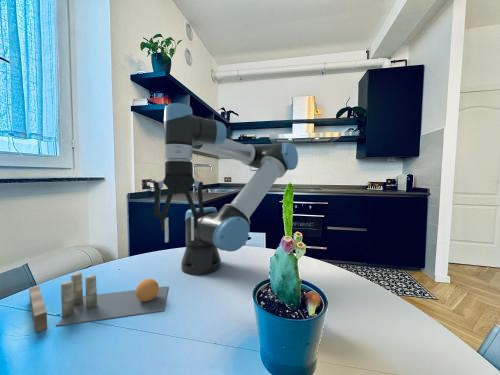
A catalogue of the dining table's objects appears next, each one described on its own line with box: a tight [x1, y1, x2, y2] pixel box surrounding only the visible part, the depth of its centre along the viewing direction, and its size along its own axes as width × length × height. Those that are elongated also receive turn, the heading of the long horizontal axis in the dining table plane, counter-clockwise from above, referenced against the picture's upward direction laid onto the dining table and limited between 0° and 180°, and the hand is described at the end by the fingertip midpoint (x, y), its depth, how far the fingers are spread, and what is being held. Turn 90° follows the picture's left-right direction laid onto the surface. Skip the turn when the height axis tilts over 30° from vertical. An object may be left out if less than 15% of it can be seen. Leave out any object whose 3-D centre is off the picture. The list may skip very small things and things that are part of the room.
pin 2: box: [70, 272, 84, 306], centre depth 62 cm, size 2×2×8 cm
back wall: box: [28, 285, 48, 333], centre depth 57 cm, size 18×2×4 cm, turn 47°
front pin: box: [84, 274, 98, 309], centre depth 60 cm, size 2×2×8 cm
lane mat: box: [55, 286, 169, 327], centre depth 62 cm, size 24×13×1 cm, turn 105°
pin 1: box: [60, 280, 74, 319], centre depth 57 cm, size 2×2×8 cm
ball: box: [135, 278, 160, 302], centre depth 64 cm, size 6×6×6 cm
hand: (179, 239), depth 65 cm, fingers open, 6 cm apart
